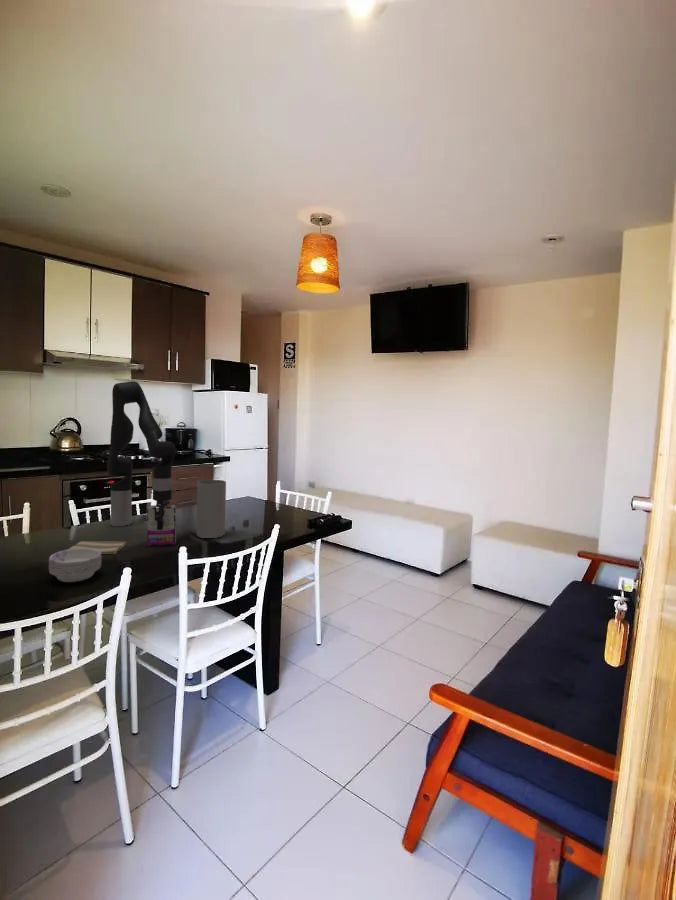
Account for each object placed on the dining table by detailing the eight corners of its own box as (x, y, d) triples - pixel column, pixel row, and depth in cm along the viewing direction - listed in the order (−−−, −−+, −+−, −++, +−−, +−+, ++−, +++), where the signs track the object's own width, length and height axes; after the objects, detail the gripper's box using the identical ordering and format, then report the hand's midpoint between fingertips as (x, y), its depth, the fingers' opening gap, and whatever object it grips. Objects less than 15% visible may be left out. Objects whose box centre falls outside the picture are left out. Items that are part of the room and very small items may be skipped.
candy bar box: (176, 541, 194) (176, 504, 193) (175, 545, 190) (175, 506, 188) (148, 542, 192) (148, 504, 190) (146, 546, 187) (147, 507, 185)
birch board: (81, 543, 186) (81, 541, 186) (126, 544, 188) (126, 541, 188) (64, 554, 172) (64, 551, 172) (113, 554, 174) (113, 551, 174)
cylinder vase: (198, 532, 211) (198, 479, 209) (225, 531, 214) (226, 479, 212) (195, 539, 199) (196, 483, 197) (224, 539, 202) (225, 484, 200)
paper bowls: (104, 580, 148) (104, 557, 148) (50, 589, 140) (50, 564, 139) (98, 566, 161) (98, 545, 160) (47, 574, 152) (47, 551, 151)
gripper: (158, 485, 195) (157, 523, 197) (147, 491, 181) (147, 532, 183) (175, 485, 196) (175, 523, 198) (166, 491, 182) (166, 532, 183)
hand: (161, 527), depth 190 cm, fingers closed on candy bar box, 5 cm apart
